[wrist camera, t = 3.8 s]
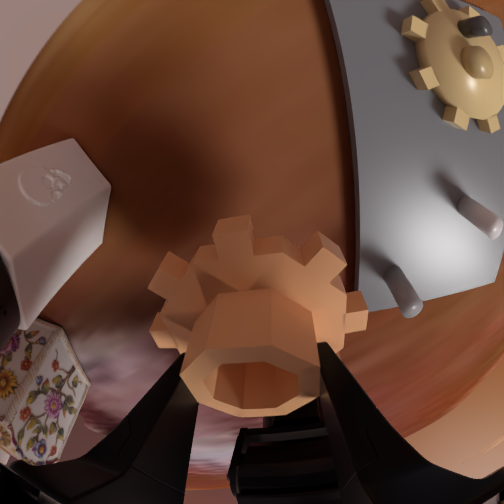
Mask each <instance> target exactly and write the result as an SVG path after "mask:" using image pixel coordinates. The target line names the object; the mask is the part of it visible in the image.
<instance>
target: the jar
mask: <svg viewBox="0 0 504 504" xmlns="http://www.w3.org/2000/svg"><path fill="white" fill-rule="evenodd" d="M110 192H111V185H110V183H109V182H108V181H107V180H106V179H105V177H104V176H103V175H102V174H101V172H100V171H99V170H98V169H97V167H96V166H95V165H94V164H93V162H92V161H91V160H90V159H89V157H88V156H87V155H86V153H85V152H84V151H83V149H82V148H81V147H80V146H79V144H78V143H77V142H76V140H75V139H74V138H70V139H67V140H63V141H60V142H57V143H54V144H51V145H47V146H45V147H42V148H39V149H36V150H33V151H30V152H28V153H25V154H22V155H20V156H17V157H15V158H12V159H10V160H8V161H5V162H3V163H1V164H0V352H1V351H2V350H3V348H4V347H5V345H6V344H7V342H8V341H9V340H10V338H11V337H12V336H13V334H14V333H15V331H16V330H17V329H21V330H27V329H28V328H29V327H30V325H31V324H32V323H33V321H34V320H35V319H36V318H37V316H38V315H39V314H40V312H41V311H42V310H43V309H44V307H45V306H46V305H47V304H48V302H49V301H50V300H51V299H52V298H53V296H54V295H55V294H56V293H57V292H58V290H59V289H60V288H61V287H62V286H63V285H64V284H65V282H66V281H67V280H68V279H69V278H70V277H71V276H72V274H73V273H74V272H75V271H76V270H77V269H78V268H79V267H80V266H81V265H82V264H83V262H84V261H85V260H86V259H87V258H88V257H89V256H90V255H91V254H92V253H93V252H94V251H95V250H96V249H97V248H98V247H99V246H100V245H101V244H102V241H103V234H104V227H105V220H106V214H107V208H108V202H109V197H110Z"/></svg>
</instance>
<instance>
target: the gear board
mask: <svg viewBox="0 0 504 504" xmlns="http://www.w3.org/2000/svg"><path fill="white" fill-rule="evenodd" d="M324 2H325V5H326V9H327V13H328V16H329V20H330V24H331V28H332V32H333V36H334V41H335V45H336V50H337V54H338V59H339V64H340V70H341V75H342V81H343V87H344V93H345V100H346V106H347V114H348V122H349V130H350V139H351V150H352V161H353V175H354V193H355V229H356V249H355V285H354V291H360V290H361V293H362V295H363V297H364V300H365V302H366V305H367V307H368V312H372V311H378V310H383V309H388V308H393V307H399V309H400V310H401V312H402V314H403V316H404V317H405V318H412V317H414V316H416V315H417V314H418V313H419V312H420V311H421V310H422V308H423V302H422V301H426V300H430V299H434V298H438V297H442V296H446V295H450V294H454V293H458V292H462V291H465V290H469V289H472V288H476V287H479V286H483V285H486V284H489V283H493V282H495V279H496V276H497V272H498V269H499V266H500V262H501V259H502V255H503V251H504V30H503V27H502V24H501V20H500V18H498V17H496V16H494V15H492V14H490V13H488V12H486V11H483V10H481V9H479V8H477V7H475V6H472V5H470V4H467V3H465V2H462V1H460V0H324Z"/></svg>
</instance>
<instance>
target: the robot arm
mask: <svg viewBox="0 0 504 504" xmlns="http://www.w3.org/2000/svg"><path fill="white" fill-rule="evenodd" d="M317 348H318V355H319V361H320V396H319V397H317V398H315V399H314V400H312V401H310V402H308V403H307V404H305V405H303V406H301V407H300V408H298V409H296V410H294V411H292V412H290V413H288V414H286V415H278V416H263V428H250V429H248V428H241V429H240V432H239V436H238V437H237V440H236V444H235V448H234V452H233V456H232V459H231V463H230V467H229V471H228V473H227V480H228V481H229V482H230V487H231V490H232V493H233V495H234V496H235V497H236V498H237V501H238V504H504V467H501V468H500V469H498V470H496V471H494V472H493V473H491V474H489V475H488V476H486V477H484V478H482V479H473V478H469V477H466V476H463V475H461V474H458V473H455V472H452V471H449V470H447V469H445V468H442V467H439V466H437V465H435V464H433V463H431V462H429V461H428V460H426V459H425V458H424V457H423V456H422V455H420V454H419V453H418V452H417V451H416V450H415V449H414V448H413V447H412V446H411V445H410V444H409V443H408V442H407V441H406V440H405V439H404V438H403V437H402V436H401V435H400V434H399V433H398V432H397V431H396V430H395V429H394V428H393V427H392V426H391V425H390V423H389V422H388V421H387V420H386V418H385V417H384V416H383V415H382V413H381V412H380V411H379V409H378V408H376V406H375V404H374V403H373V402H372V400H371V399H370V398H369V396H368V395H367V394H366V392H365V391H364V390H363V388H362V387H361V386H360V385H359V383H358V382H357V381H356V379H355V378H354V377H353V375H352V374H351V373H350V371H349V370H348V369H347V367H346V366H345V365H344V364H343V362H342V361H341V360H340V358H339V357H338V356H337V354H336V353H335V352H334V350H333V349H332V348H331V346H330V345H329V344H328V343H327V342H326V341H324V342H317ZM185 353H186V352H184V353H182V354H181V355H180V356H179V357H178V358H177V359H176V360H175V361H174V363H173V364H172V365H171V366H170V367H169V368H168V369H167V371H166V372H165V373H164V374H163V375H162V376H161V377H160V378H159V380H158V381H157V382H156V383H155V384H154V385H153V386H152V388H151V389H150V390H149V391H148V392H147V393H146V394H145V395H144V397H143V398H142V399H141V400H140V401H139V402H138V403H137V404H136V406H135V407H134V408H133V409H132V410H131V411H130V412H129V413H128V415H127V416H126V417H125V418H124V419H123V420H122V421H121V422H120V423H119V424H118V425H117V426H116V427H115V428H114V429H113V430H112V431H111V432H110V433H109V434H108V435H107V436H106V437H105V438H104V439H103V440H101V441H100V442H99V443H98V444H97V445H96V446H95V447H93V448H92V449H91V450H90V451H89V452H88V453H87V454H85V455H83V456H82V457H80V458H77V459H73V460H69V461H63V462H58V463H52V464H46V465H38V466H36V465H30V464H29V463H27V462H25V461H24V460H22V459H20V460H16V461H13V462H12V463H10V464H9V465H8V466H9V467H7V466H6V465H4V464H3V463H1V462H0V504H183V502H184V495H185V494H184V493H185V487H186V480H187V474H188V467H189V460H190V454H191V448H192V442H193V435H194V429H195V423H196V417H197V412H198V405H199V402H197V400H196V399H195V397H194V396H193V394H192V393H191V392H190V390H189V389H188V387H187V385H186V384H185V382H184V381H183V379H182V378H181V377H180V371H181V367H182V364H183V360H184V357H185Z"/></svg>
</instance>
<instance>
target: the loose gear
mask: <svg viewBox="0 0 504 504" xmlns="http://www.w3.org/2000/svg"><path fill="white" fill-rule="evenodd" d="M212 237H213V240H214V244H212V245H205V246H200V247H199V249H198V250H197V252H196V253H195V255H194V256H193V258H192V259H191V261H190V262H189V263H188V262H186V261H185V260H183V259H181V258H180V257H178V256H176V255H175V254H173V253H171V252H170V251H168V253H167V254H166V256H165V258H164V259H163V261H162V263H161V264H160V266H159V268H158V270H157V271H156V273H155V275H154V277H153V279H152V280H151V282H150V284H149V286H148V288H147V289H149V290H151V291H152V292H154V293H156V294H158V295H159V296H161V297H163V298H164V299H166V301H165V303H164V305H163V308H162V310H161V312H157V314H156V316H155V319H154V321H153V323H152V325H151V328H150V330H149V332H150V333H151V335H152V337H153V339H154V340H155V342H156V344H157V346H158V347H159V348H177V349H178V351H179V353H180V354H182V353H184V352H186V353H185V357H184V360H183V364H182V367H181V371H180V377H181V378H182V379H183V381H184V382H185V384H186V385H187V387H188V389H189V390H190V392H191V393H192V394H193V396H194V397H195V399H196V400H197V402H199V403H201V404H204V405H206V406H209V407H212V408H214V409H217V410H220V411H223V412H225V413H228V414H231V415H234V416H237V417H260V416H278V415H286V414H288V413H290V412H292V411H294V410H296V409H298V408H300V407H301V406H303V405H305V404H307V403H308V402H310V401H312V400H314V399H315V398H317V397H319V396H320V361H319V355H318V348H317V342H324V341H326V342H327V343H328V344H329V345H330V346H331V348H332V349H333V350H334V352H335V353H336V354H337V356H338V357H339V358H340V354H339V351H340V350H341V349H342V348H343V347H344V335H345V333H350V332H356V331H362V330H366V326H367V318H368V307H367V305H366V302H365V300H364V297H363V295H362V293H361V290H360V291H354V292H347V293H346V291H345V289H344V286H343V283H342V280H341V278H340V275H338V274H339V273H340V272H341V271H342V270H343V269H344V268H345V267H346V266H347V263H346V260H345V258H344V256H343V254H342V251H341V249H340V247H339V246H338V245H336V244H335V243H334V242H332V241H331V240H330V239H328V238H327V237H326V236H324V235H323V234H322V233H320V232H319V231H318V230H317V231H316V232H315V233H314V234H313V235H312V236H311V238H310V239H309V240H308V241H307V242H306V243H305V244H304V245H303V246H302V248H299V247H298V246H296V245H295V244H293V243H292V242H290V241H289V240H288V239H286V238H285V237H283V236H282V235H276V236H269V237H261V238H255V236H254V231H253V226H252V221H251V216H250V215H244V216H238V217H231V218H225V219H219V220H218V222H217V224H216V227H215V229H214V232H213V234H212ZM340 360H341V359H340Z"/></svg>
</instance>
